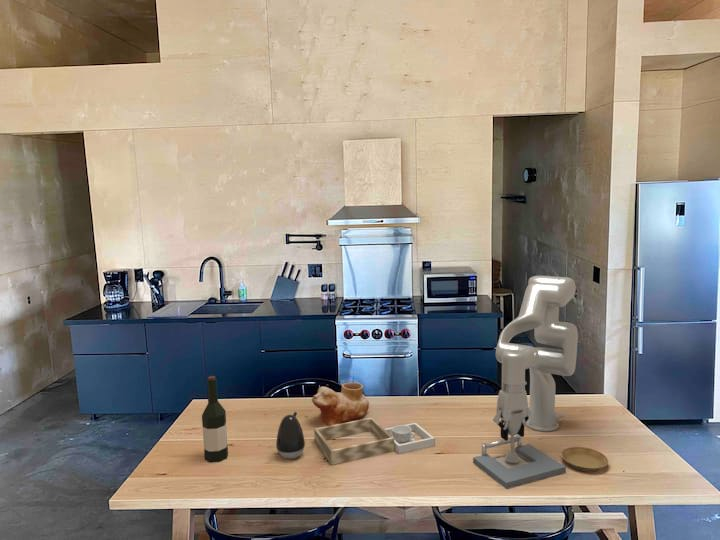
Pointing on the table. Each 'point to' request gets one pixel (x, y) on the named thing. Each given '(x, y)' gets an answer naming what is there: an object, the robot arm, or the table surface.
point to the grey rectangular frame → (521, 467)
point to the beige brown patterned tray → (355, 451)
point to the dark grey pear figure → (290, 437)
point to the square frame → (415, 445)
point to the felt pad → (510, 464)
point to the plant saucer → (584, 458)
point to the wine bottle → (214, 426)
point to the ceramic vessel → (341, 404)
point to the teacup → (402, 434)
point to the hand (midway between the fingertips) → (512, 436)
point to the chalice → (513, 430)
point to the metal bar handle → (501, 442)
